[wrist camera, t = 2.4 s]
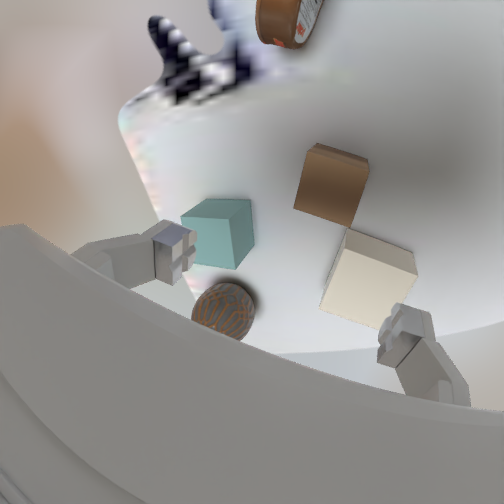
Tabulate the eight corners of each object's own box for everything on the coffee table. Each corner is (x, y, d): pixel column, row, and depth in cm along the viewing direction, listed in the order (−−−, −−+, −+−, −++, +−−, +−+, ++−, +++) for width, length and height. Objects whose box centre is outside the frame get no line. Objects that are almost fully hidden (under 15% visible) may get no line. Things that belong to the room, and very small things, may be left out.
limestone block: (347, 228, 25) (344, 248, 21) (412, 252, 23) (418, 276, 20) (325, 284, 28) (318, 309, 25) (383, 305, 27) (383, 331, 24)
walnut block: (317, 143, 22) (307, 151, 18) (367, 159, 21) (369, 171, 17) (305, 189, 24) (293, 208, 20) (352, 205, 23) (350, 227, 19)
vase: (229, 321, 37) (199, 368, 30) (201, 281, 35) (163, 326, 28) (271, 312, 33) (244, 366, 26) (242, 267, 31) (205, 317, 24)
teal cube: (206, 198, 29) (180, 216, 25) (250, 199, 27) (228, 219, 23) (213, 240, 31) (190, 262, 27) (254, 244, 29) (235, 269, 25)
